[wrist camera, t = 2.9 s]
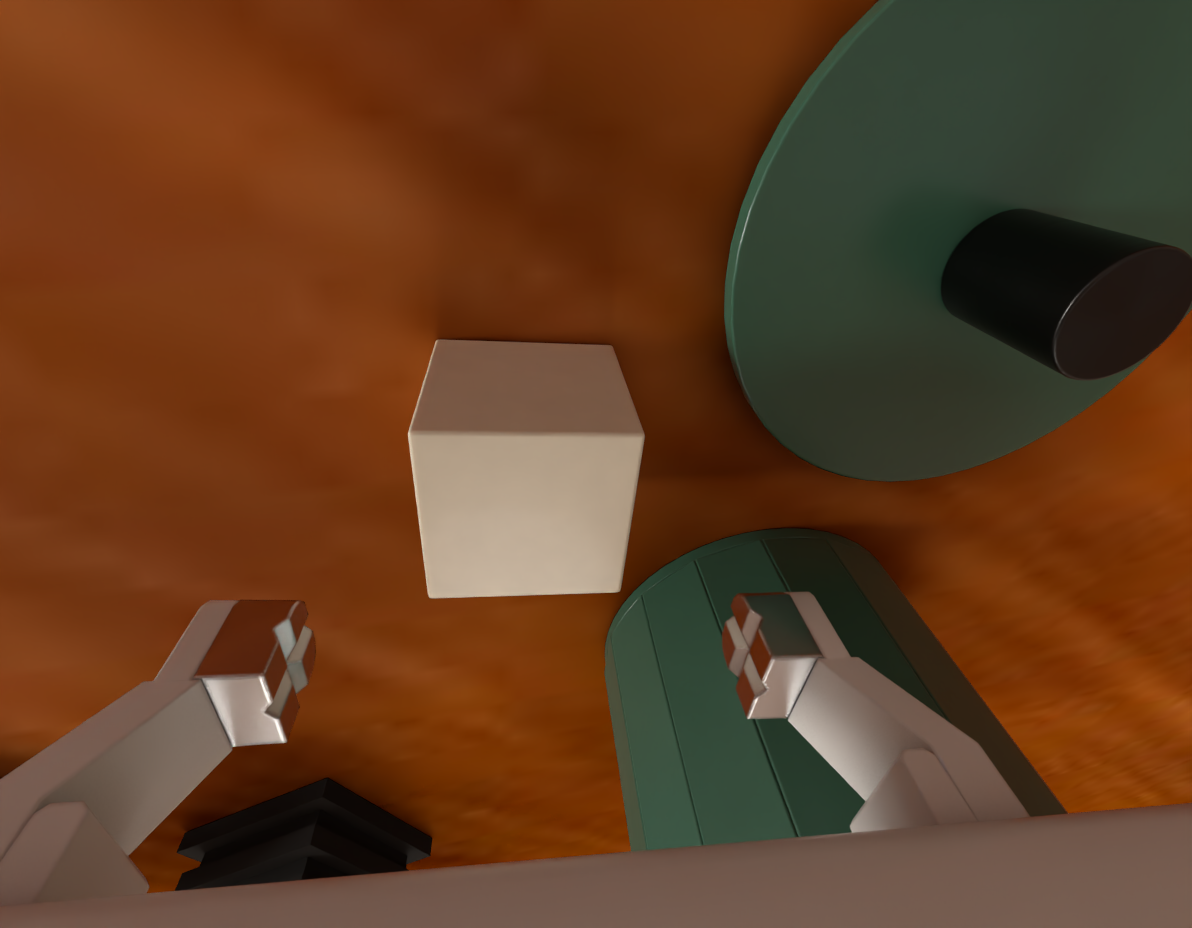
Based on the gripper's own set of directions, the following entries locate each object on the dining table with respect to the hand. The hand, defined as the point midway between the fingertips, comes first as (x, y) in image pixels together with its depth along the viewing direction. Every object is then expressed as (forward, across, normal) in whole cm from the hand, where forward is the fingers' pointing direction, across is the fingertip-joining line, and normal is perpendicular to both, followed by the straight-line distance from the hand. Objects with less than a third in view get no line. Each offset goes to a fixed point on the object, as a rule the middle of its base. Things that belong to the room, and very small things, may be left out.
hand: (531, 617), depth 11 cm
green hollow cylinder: (+7, -9, +9) cm, 14 cm away
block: (+6, 0, -1) cm, 6 cm away
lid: (+6, -11, -6) cm, 14 cm away
